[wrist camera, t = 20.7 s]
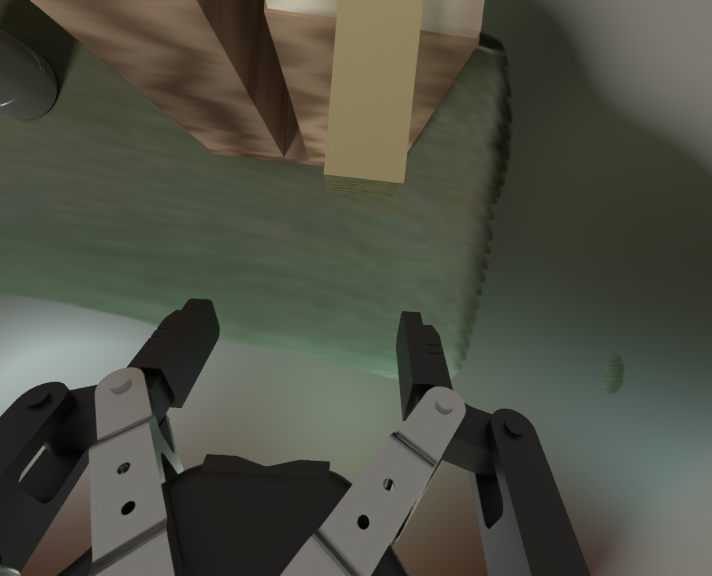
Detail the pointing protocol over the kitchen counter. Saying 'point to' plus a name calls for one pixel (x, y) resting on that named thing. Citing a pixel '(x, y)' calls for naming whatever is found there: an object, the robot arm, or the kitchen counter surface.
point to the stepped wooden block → (255, 64)
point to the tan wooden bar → (371, 95)
